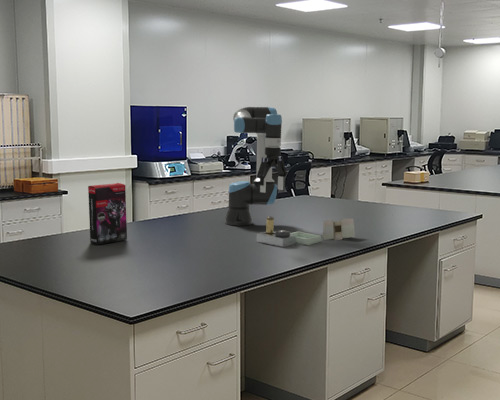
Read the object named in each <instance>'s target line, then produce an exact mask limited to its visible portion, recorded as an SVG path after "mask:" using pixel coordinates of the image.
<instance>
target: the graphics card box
mask: <svg viewBox="0 0 500 400" xmlns="http://www.w3.org/2000/svg"><path fill="white" fill-rule="evenodd" d="M87 191H88V194H87V195H88V214H89V240H90V242H89V243H90V244H93V245H96V246H97V245H98V246H99V245H100V246H101V245H104V244H105V245H106V244H109V243H115V242H120V241H121V242H122V241H126V240H128V231H127V230H128V226H127V223H128V222H127V195H126V184H124V183H121V182H120V183H119V182H117V183H107V184H104V183H103V184H95V185H93V184H92V185H88V186H87Z"/></svg>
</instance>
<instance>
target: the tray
mask: <svg viewBox="0 0 500 400" xmlns="http://www.w3.org/2000/svg"><path fill="white" fill-rule="evenodd" d="M290 235H295V236H296V241H295V244H297V245H301V246H302V245H303V246H311V245H314V244H318V243H321V242H322V235H320V234H316V233H315V234H314V233H308V232H303V231H295V232H290Z"/></svg>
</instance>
